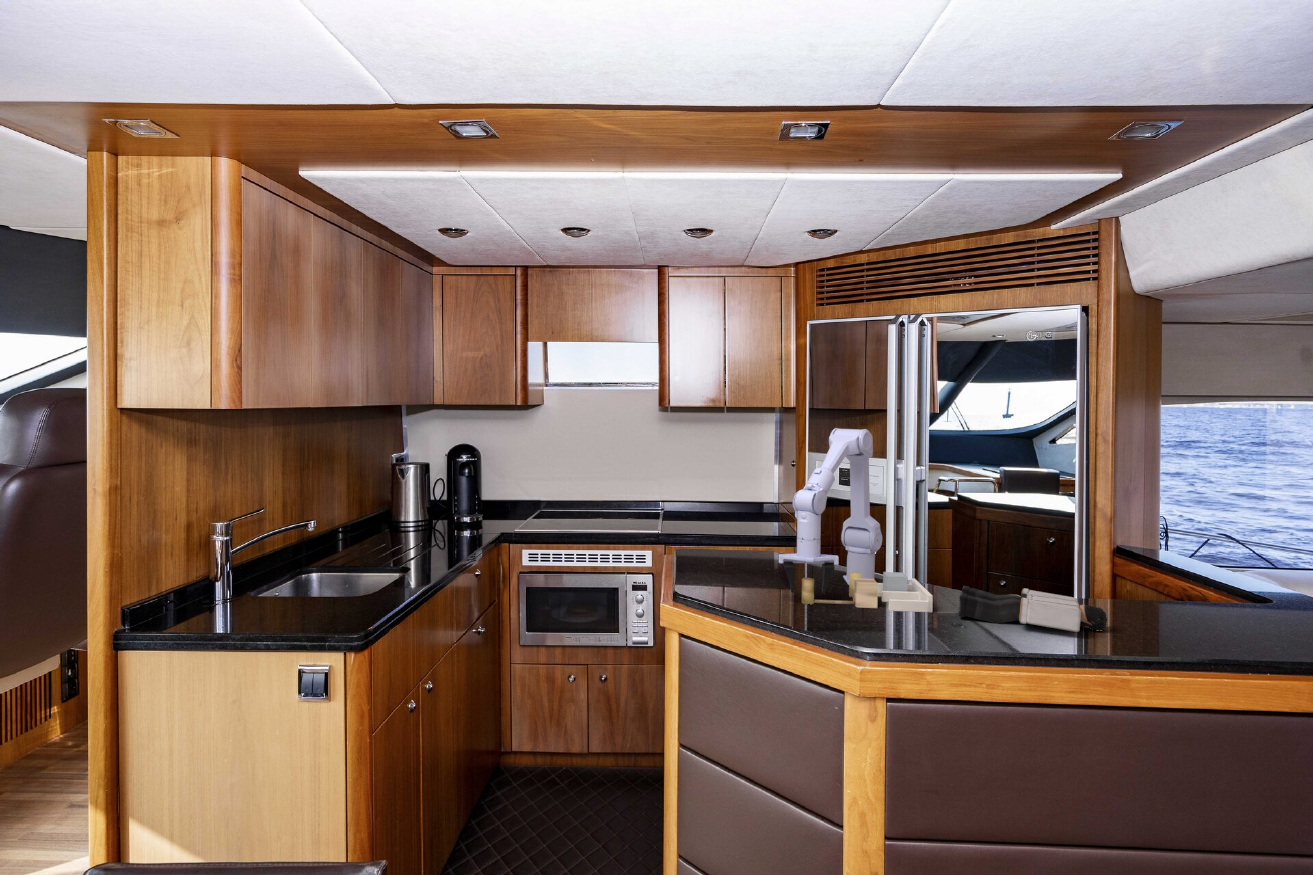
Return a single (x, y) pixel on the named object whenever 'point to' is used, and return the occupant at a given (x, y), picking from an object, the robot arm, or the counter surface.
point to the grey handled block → (884, 581)
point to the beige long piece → (862, 593)
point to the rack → (908, 598)
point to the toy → (1031, 609)
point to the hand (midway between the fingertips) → (807, 591)
